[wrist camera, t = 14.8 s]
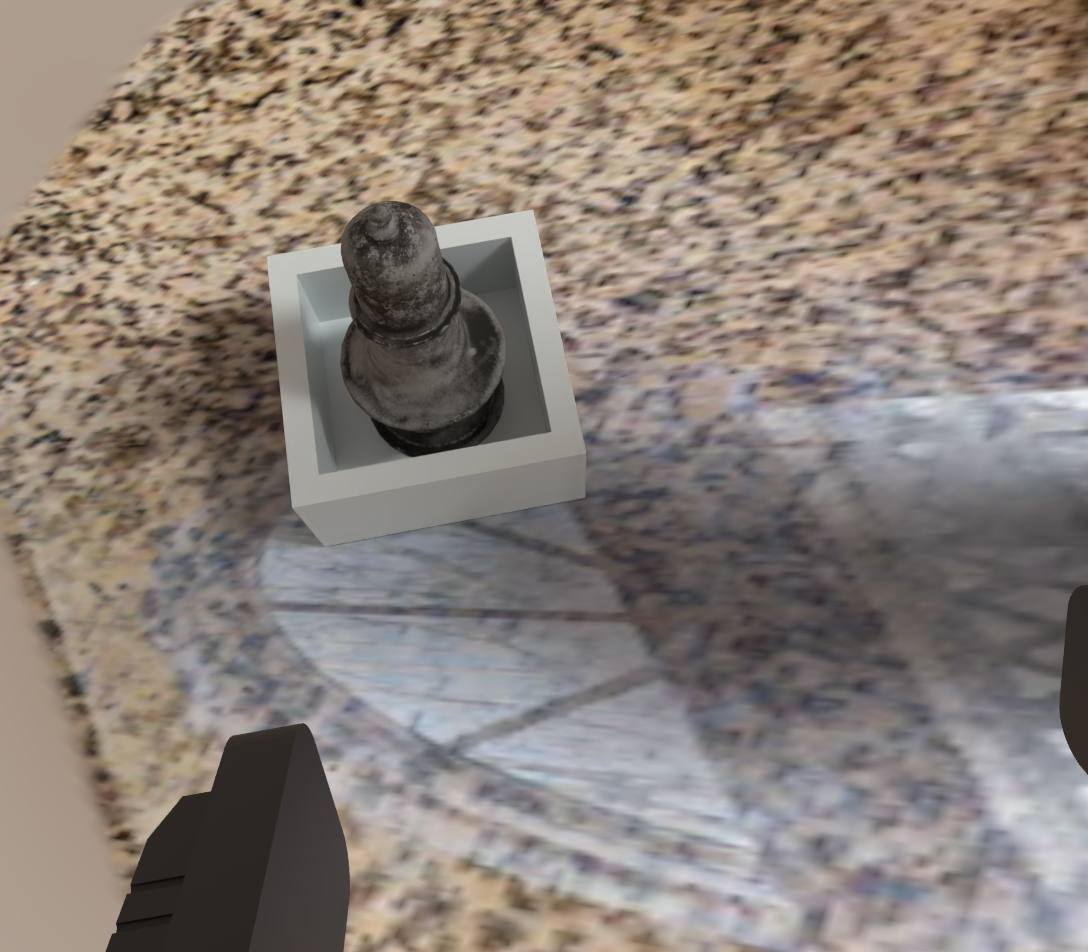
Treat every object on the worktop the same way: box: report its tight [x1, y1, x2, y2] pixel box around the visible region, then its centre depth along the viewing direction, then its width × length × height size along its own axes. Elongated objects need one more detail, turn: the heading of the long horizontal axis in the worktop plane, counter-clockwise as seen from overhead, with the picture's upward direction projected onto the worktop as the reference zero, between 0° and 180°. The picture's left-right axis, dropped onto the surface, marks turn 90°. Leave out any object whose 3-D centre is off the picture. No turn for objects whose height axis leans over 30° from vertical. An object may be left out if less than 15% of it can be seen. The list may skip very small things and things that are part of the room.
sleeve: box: [267, 210, 586, 547], centre depth 37 cm, size 10×10×4 cm
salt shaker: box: [340, 201, 506, 457], centre depth 32 cm, size 6×6×12 cm
